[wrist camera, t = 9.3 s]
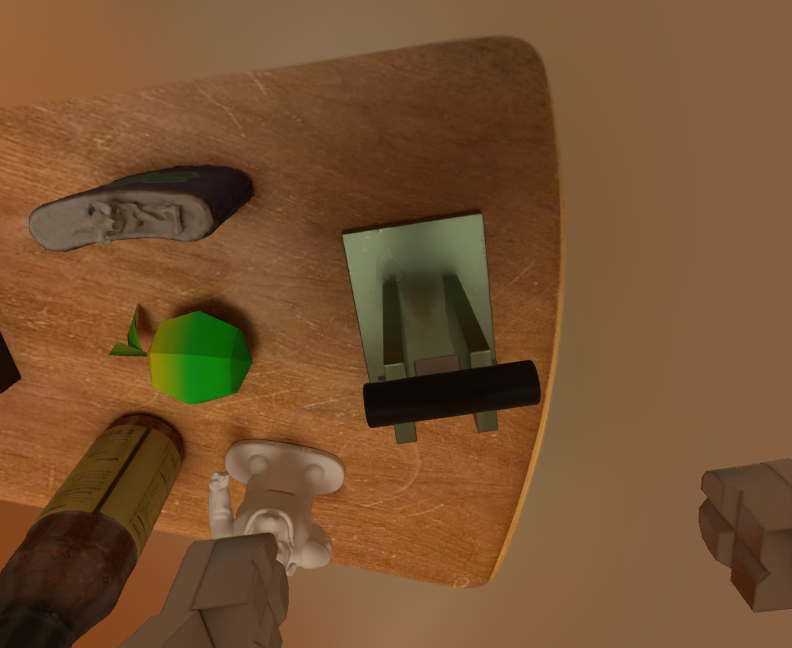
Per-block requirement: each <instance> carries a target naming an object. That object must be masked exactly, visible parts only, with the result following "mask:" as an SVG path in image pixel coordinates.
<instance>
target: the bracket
mask: <svg viewBox="0 0 792 648" xmlns="http://www.w3.org/2000/svg"><path fill="white" fill-rule="evenodd" d="M342 240H343V245H344V250H345V256H346V261H347V266H348V272H349V277H350V282H351V287H352V293H353V298H354V303H355V309H356V314H357V319H358V324H359V330H360V335H361V340H362V346H363V351H364V356H365V362H366V367H367V372H368V377H369V383H374V382H380V381H387V380H394V379H401V378H408V377H415V376H416V375H415V368H414V361H415V360H420V359H427V358H434V357H441V356H448V355H455V354H457V355H459V360H460V366H461V370H463V369H470V368H477V367H484V366H491V365H498V363H497V361H496V355H495V344H494V333H493V321H492V310H491V299H490V287H489V276H488V265H487V253H486V242H485V231H484V219H483V213H482V212H481V211H480V210H472V211H466V212H459V213H453V214H446V215H440V216H433V217H427V218H420V219H414V220H407V221H401V222H394V223H388V224H381V225H375V226H368V227H362V228H355V229H349V230H343V232H342ZM473 417H474V420H475V424H476V427H477V431H478V432H479V433H480V432H487V431H494V430H498V423H497V412H496V410H495V411H488V412H481V413H474V414H473ZM394 429H395V435H396V441H397V444H403V443H410V442H416V441H417V435H416V426H415V422H410V423H403V424H396V425H394Z"/></svg>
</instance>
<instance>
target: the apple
mask: <svg viewBox="0 0 792 648" xmlns="http://www.w3.org/2000/svg"><path fill="white" fill-rule="evenodd" d="M137 306H138V304H137ZM136 316H137V307H136V311H135V314H134V317H133V321H132V324H131V327H130V331H129V334H128V346H127V345H125V344H122V343H120V342H117V344H116V345H115V346H114V348H113V349H112V351H111V352H110V354H109V355H118V356H143V357H147V359H148V365H149V371H150V376H151V382H152V387H153V388H154V389H157V390H159V391H161V392H163V393H165V394H168V395H170V396H172V397H174V398H176V399H179V400H181V401H183V402H185V403H187V404H198V403H204V402H208V401H211V400H215V399H218V398H221V397H225V396H228V395H232V394H235V393H238V391H239V389H240V387H241V385H242V383H243V381H244V379H245V377H246V375H247V373H248V371H249V369H250V366H251V364H252V358H251V355H250V352H249V349H248V345H247V342H246V339H245V335H244V332H243V331H241V330H240V329H238V328H237V327H234V326H232V325H230V324H228V323H225V322H223V321H221V320H219V319H216V318H214V317H212V316H210V315H208V314H205V313H203V312H201V311H196V312H193V313H189V314H186V315H183V316H179V317H176V318H173V319H169V320H166V321H163V322H160V325H159V327H158V329H157V332H156V334H155V337H154V339H153V341H152V344H151V346H150V348H149V351H148V353H146V352H143V351H142V348H141V345H140V342H139V338H138V335H137V332H136Z"/></svg>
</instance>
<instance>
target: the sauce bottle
mask: <svg viewBox="0 0 792 648" xmlns="http://www.w3.org/2000/svg"><path fill="white" fill-rule="evenodd" d="M182 452H183V450H182V443H181V440H180V437H179V435H178V434H177V433H176V432H175V431H174V430H173V429H172V428H171V427H169V426H168V425H166V424H165V423H163V422H162V421H160V420H158V419H156V418H154V417H151V416H145V415H135V416H126V417H123V418H120V419H117V420H116V421H115V422H114V423H112V424H111V425H110V426H109V427H108V428H107V429H106V430H105V432H104V433H102V434H101V435H100V436H99V437H98V438H97V439H96V440H95V441H94V443H93V444H92V446H91V447H90V448H89V450H88V451H87V452H86V454H85V455H84V456H83V458H82V459H81V460H80V462H79V463H78V464H77V466H76V467H75V468H74V470H73V471H72V472H71V474H70V475H69V476H68V477H67V479H66V480H65V481H64V483H63V484H62V485H61V487H60V488H59V490H58V491H57V492H56V494H55V495H54V496H53V498H52V499H51V500H50V502H49V503H48V505H47V506H46V507H45V509H44V510H43V512H42V513H41V514H40V516H39V517H38V518H37V520H36V521H35V522H34V524H33V525H32V527H31V528H30V529H29V531H28V533H27V535H26V538H25V540H24V541H23V542H22V544H21V545H20V546H19V547H18V549H17V550H16V551H15V553H14V554H13V555H12V557H11V558H10V559H9V561H8V563H7V564H6V566H5V567H4V568H3V569H2V571H1V573H0V648H71V647H72V644H73V643H74V642H75V641H76V640H78V639H79V638H80V637H81V636H82V635H83V634H85V633H86V632H87V631H88V630H89V629H91V628H92V627H93V626H95V625H96V624H98V623H99V622H100V621H102V620H103V619H104V618H105V617H107V616H108V615H109V614H110V612H111V611H112V610H113V609H114V607H115V606H116V603H117V601H118V599H119V597H120V594H121V592H122V590H123V588H124V585H125V583H126V581H127V578H128V577H129V576H130V574H131V573H132V571H133V569H134V568H135V566H136V564H137V562H138V559H139V557H140V555H141V553H142V551H143V549H144V547H145V544H146V542H147V540H148V538H149V536H150V534H151V532H152V529H153V527H154V525H155V523H156V521H157V519H158V517H159V514H160V512H161V510H162V508H163V506H164V503H165V501H166V499H167V497H168V495H169V493H170V491H171V489H172V487H173V485H174V482H175V480H176V478H177V476H178V474H179V471H180V467H181V462H182V457H183V455H182Z"/></svg>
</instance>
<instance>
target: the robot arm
mask: <svg viewBox="0 0 792 648" xmlns="http://www.w3.org/2000/svg"><path fill="white" fill-rule="evenodd" d="M701 490H702V491H703V492H704V494H705V495H706V496H707V497H708V498H707V499H706V500H705V501H704V503H703V504H702V505H701V506H700V507H699V526H700V530H701V534H702V538H703V540H704V542H705V544H706V546H707V548H708V550H709V551H710V552H711V554H712V555H713V557H714V558H715V560H717V561H718V562H720V563H722V564H724V565H726V566H727V567H729V568H731V569H732V571H731V582H732V583H733V585H734V586H735V587H736V589H737V590H738V591H739V593H740V594H741V595H742V597H743V598H744V600H745V601H746V602H747V604H748V605H749V606H750V608H751V609H752V610H753V612H754V613H755V612H765V611H774V610H783V609H792V459H789V458H788V459H782V460H775V461H768V462H763V463H760V464H752V465H745V466H738V467H731V468H725V469H718V470H711V471H706V472H705V473H704V475H703V477H702V482H701ZM277 552H278V545H277V542H276V539H275V536H274V534H272V533H270V532H268V533H259V534H250V535H242V536H233V537H224V538H219V539H212V540H203V541H194V542H193V543H192V544H191V545H190V546H189V547H188V549H187V551H186V554H185V556H184V558H183V561H182V563H181V566H180V568H179V570H178V573H177V575H176V577H175V580H174V583H173V585H172V587H171V589H170V592H169V594H168V596H167V599H166V601H165V604H164V606H163V608H162V611H161V613H160V615H158V616H152V617H151V618H149V619H148V620H147V621H146V622H145V623H144V624H143V625H142V626H141V627H140V628H139V629H138V630H136V631H135V632H134V633H133V634H132V635H131V636H130V637H129V638H128V639H127V640H126V641H124V642H123V643H122V644H121V645H120V646H119V647H118V648H281V645H282V637H281V634H280V631H279V628H278V627H279V626H280V625H281V624H282V622H283V621H284V620H285V619H286V617H287V610H288V604H289V598H288V597H289V586H288V580H287V574H286V571H285V567H284V565H283V564H282V563H280V562H279V561H278V560H276V557H277Z"/></svg>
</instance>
